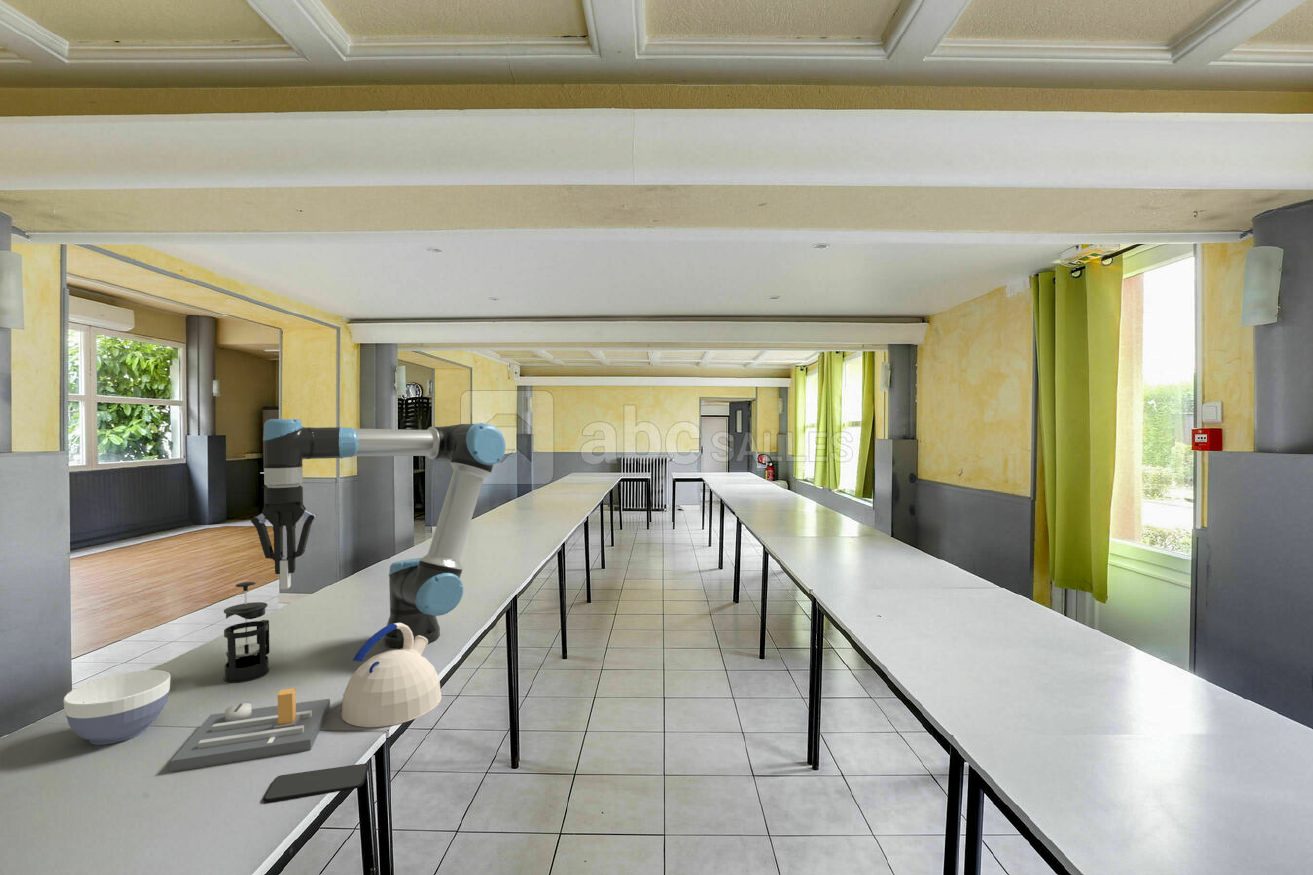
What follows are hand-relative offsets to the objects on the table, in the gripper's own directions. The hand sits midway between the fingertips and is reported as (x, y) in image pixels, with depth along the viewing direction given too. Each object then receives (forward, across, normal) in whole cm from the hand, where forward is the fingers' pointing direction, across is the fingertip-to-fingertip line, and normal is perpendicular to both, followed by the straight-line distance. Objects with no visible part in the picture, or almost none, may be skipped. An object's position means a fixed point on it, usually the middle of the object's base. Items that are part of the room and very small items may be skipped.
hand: (285, 587), depth 137 cm
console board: (+24, 0, +21) cm, 32 cm away
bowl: (+25, +27, +10) cm, 38 cm away
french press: (+25, +12, -15) cm, 31 cm away
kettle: (+25, -24, +15) cm, 38 cm away
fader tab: (+22, -6, +23) cm, 33 cm away
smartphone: (+25, -15, +42) cm, 51 cm away
